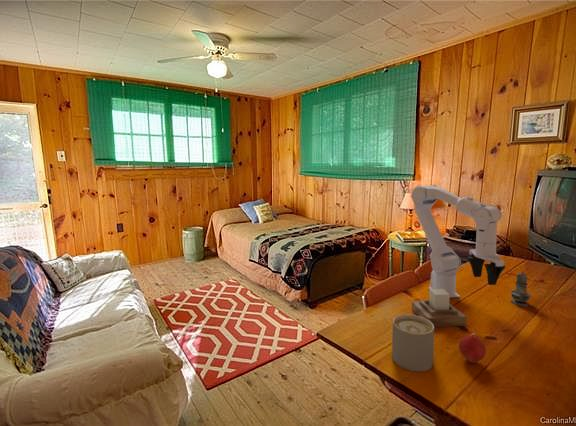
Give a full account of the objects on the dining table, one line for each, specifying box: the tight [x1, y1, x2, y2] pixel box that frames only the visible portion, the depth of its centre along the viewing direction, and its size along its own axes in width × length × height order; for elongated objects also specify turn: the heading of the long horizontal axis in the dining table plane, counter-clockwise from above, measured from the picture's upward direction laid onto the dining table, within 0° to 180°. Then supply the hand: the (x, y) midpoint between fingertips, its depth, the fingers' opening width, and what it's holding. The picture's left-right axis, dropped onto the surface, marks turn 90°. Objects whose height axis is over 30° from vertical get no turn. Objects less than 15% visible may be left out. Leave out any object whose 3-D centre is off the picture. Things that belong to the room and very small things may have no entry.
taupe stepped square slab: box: [411, 299, 467, 328], centre depth 99 cm, size 12×12×4 cm
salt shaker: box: [510, 270, 532, 307], centre depth 106 cm, size 6×6×12 cm
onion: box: [458, 333, 487, 364], centre depth 76 cm, size 6×6×8 cm
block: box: [428, 289, 451, 310], centre depth 98 cm, size 4×4×6 cm
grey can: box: [391, 313, 435, 372], centre depth 78 cm, size 13×10×10 cm
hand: (484, 280), depth 102 cm, fingers open, 7 cm apart
